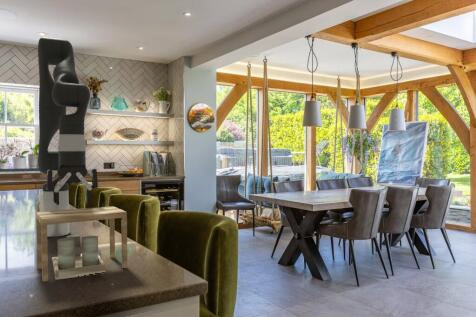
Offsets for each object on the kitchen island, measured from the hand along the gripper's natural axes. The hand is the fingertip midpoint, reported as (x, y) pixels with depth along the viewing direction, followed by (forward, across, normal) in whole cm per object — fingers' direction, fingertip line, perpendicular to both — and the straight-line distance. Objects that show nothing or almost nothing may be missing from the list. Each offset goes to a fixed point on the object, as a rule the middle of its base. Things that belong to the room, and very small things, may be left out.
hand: (72, 203), depth 121 cm
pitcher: (+17, +2, +67) cm, 69 cm away
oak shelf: (+16, 0, -13) cm, 21 cm away
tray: (+17, -1, -9) cm, 19 cm away
